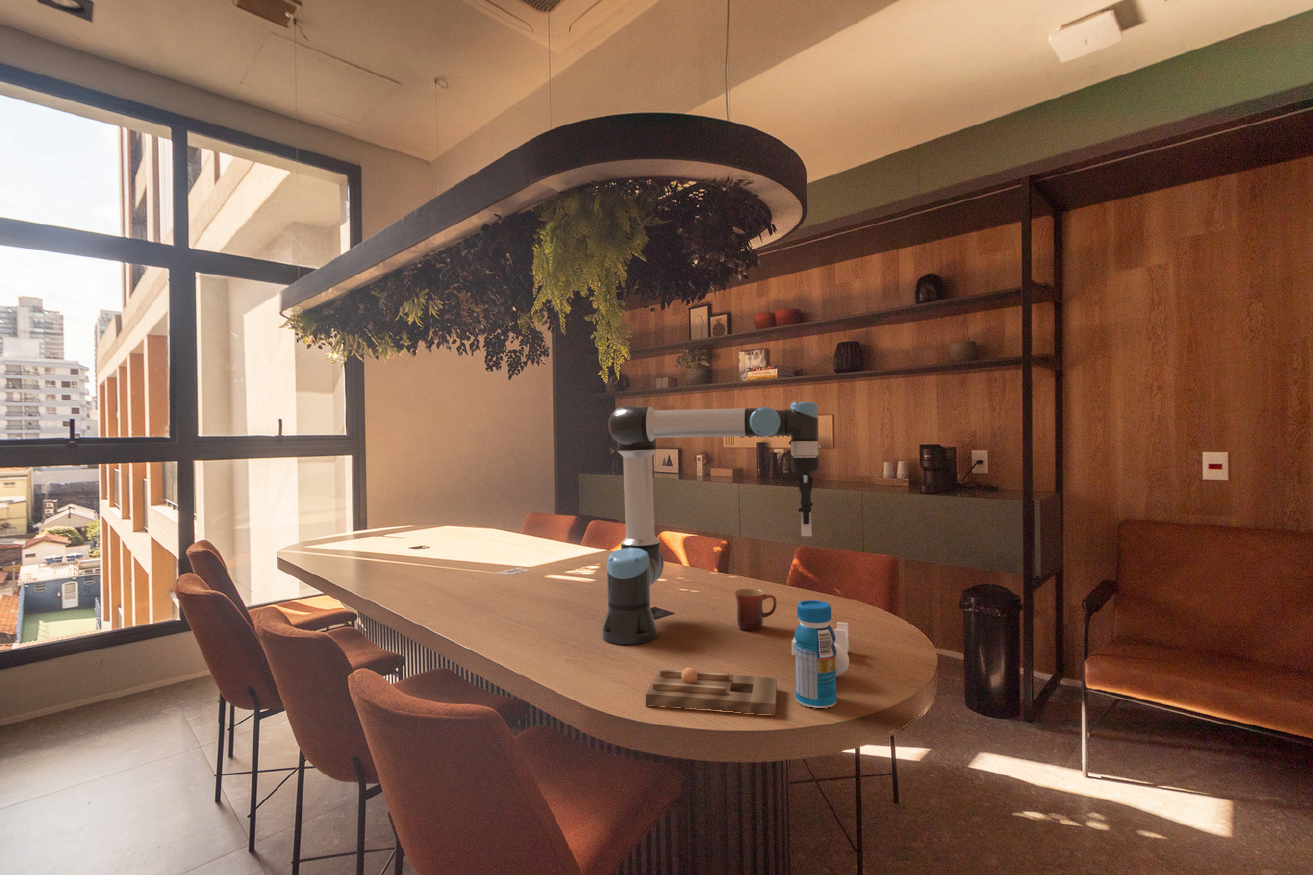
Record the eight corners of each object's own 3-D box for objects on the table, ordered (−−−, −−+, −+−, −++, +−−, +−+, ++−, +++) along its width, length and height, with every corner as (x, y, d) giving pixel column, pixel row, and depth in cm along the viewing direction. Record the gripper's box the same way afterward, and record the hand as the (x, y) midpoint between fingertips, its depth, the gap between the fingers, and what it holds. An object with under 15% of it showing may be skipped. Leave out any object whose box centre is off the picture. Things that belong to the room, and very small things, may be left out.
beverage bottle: (792, 706, 122) (790, 607, 122) (798, 690, 130) (796, 597, 130) (835, 712, 119) (833, 611, 119) (839, 695, 127) (837, 600, 127)
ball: (680, 686, 127) (679, 670, 127) (683, 680, 130) (682, 664, 130) (696, 687, 126) (695, 671, 126) (698, 681, 129) (698, 665, 129)
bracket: (848, 652, 153) (848, 622, 153) (845, 662, 146) (845, 631, 146) (796, 646, 158) (796, 617, 158) (791, 656, 151) (791, 625, 151)
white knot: (847, 671, 140) (846, 632, 140) (852, 692, 128) (851, 650, 129) (797, 668, 143) (796, 630, 143) (797, 688, 131) (796, 647, 131)
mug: (735, 632, 170) (734, 595, 170) (734, 623, 178) (733, 588, 179) (778, 633, 169) (777, 596, 169) (775, 623, 177) (774, 588, 177)
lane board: (645, 706, 124) (645, 687, 124) (659, 681, 136) (659, 664, 136) (775, 716, 118) (775, 697, 118) (777, 689, 130) (776, 672, 131)
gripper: (820, 458, 157) (821, 539, 157) (817, 455, 181) (818, 526, 181) (790, 458, 159) (791, 539, 159) (792, 455, 183) (793, 525, 183)
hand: (806, 532), depth 170 cm, fingers open, 13 cm apart
